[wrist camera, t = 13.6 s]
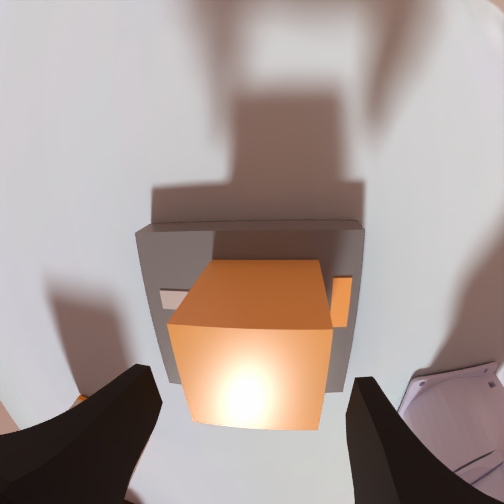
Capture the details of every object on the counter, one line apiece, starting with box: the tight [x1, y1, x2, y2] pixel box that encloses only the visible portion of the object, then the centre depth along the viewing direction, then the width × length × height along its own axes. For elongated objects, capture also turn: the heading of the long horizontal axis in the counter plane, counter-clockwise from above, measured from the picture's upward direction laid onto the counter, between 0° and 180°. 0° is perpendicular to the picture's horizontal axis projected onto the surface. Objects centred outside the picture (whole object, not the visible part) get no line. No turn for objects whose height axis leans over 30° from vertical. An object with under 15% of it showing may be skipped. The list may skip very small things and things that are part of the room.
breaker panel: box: [135, 220, 365, 393], centre depth 17 cm, size 12×11×3 cm
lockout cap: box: [167, 260, 333, 430], centre depth 13 cm, size 5×5×6 cm
